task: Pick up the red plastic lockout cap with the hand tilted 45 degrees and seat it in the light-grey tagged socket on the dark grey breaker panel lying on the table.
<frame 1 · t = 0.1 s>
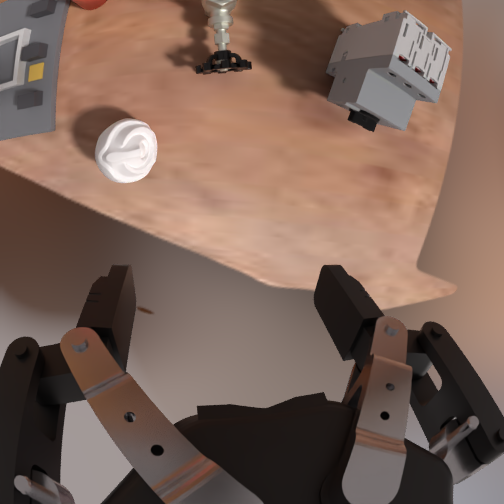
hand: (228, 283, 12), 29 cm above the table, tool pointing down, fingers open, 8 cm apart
valve: (218, 33, 29), on the table
breaker panel: (22, 59, 23), on the table
circuit breaker: (348, 78, 34), on the table
white folded ball: (132, 145, 34), on the table
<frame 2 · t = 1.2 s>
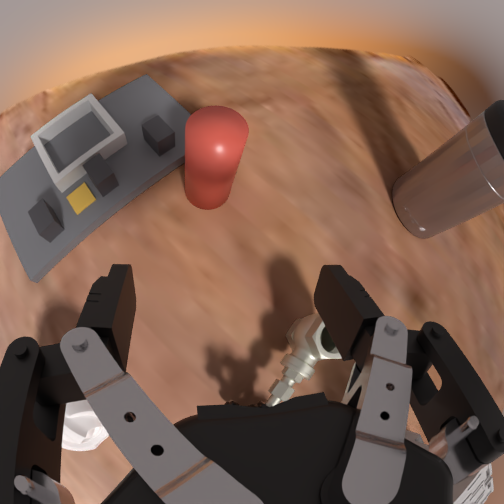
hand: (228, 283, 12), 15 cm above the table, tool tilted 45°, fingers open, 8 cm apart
valve: (280, 368, 26), on the table
breaker panel: (90, 164, 27), on the table
circuit breaker: (361, 480, 24), on the table
white folded ball: (87, 398, 21), on the table
lockout cap: (207, 188, 29), on the table
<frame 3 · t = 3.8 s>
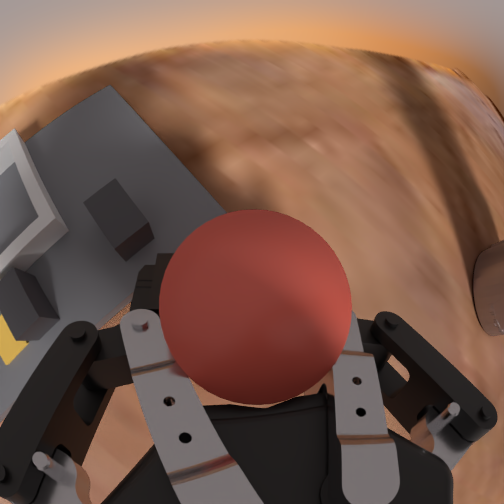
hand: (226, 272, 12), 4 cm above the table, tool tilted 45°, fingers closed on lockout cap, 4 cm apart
breaker panel: (20, 259, 14), on the table
lockout cap: (219, 319, 16), on the table, touching gripper
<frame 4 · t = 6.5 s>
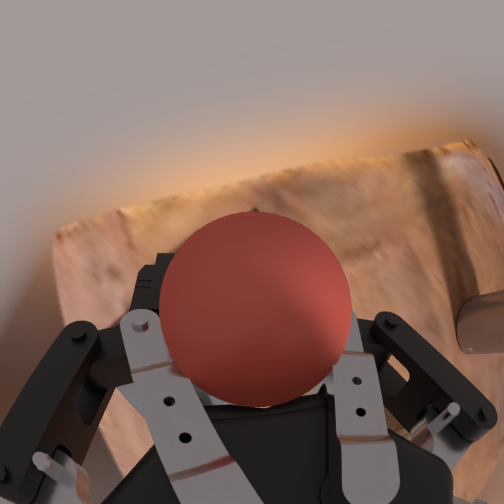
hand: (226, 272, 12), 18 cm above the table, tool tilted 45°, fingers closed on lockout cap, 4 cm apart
breaker panel: (222, 338, 29), on the table
lockout cap: (219, 320, 16), point 14 cm above the table, touching gripper
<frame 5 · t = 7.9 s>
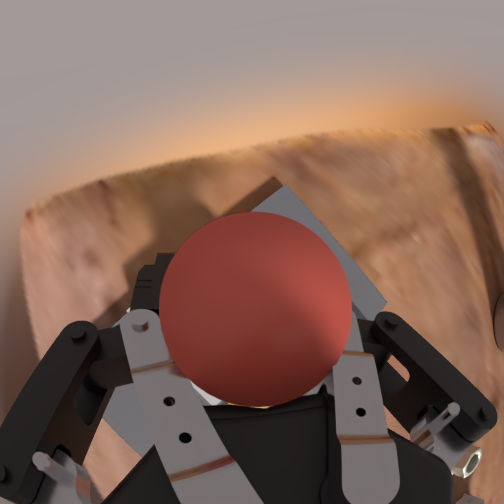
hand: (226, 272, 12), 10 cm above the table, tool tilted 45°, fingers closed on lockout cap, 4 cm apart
valve: (418, 477, 21), on the table
breaker panel: (234, 343, 22), on the table
lockout cap: (219, 320, 16), point 6 cm above the table, touching gripper
when the fingers open (7 cm above the table, at t = 9.0 s): lockout cap drops 1 cm, resting on breaker panel.
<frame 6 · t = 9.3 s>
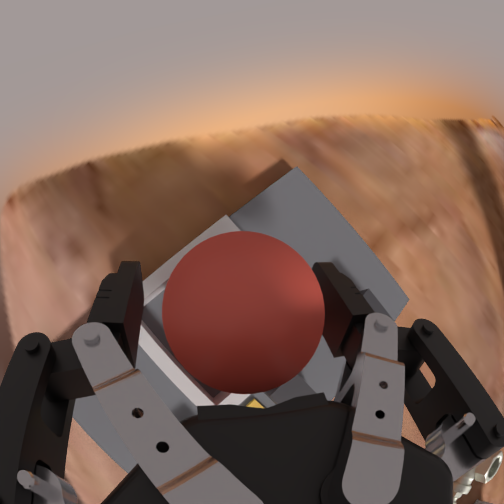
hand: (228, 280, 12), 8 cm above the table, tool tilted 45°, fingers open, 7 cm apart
valve: (436, 485, 18), on the table
breaker panel: (239, 348, 18), on the table
lockout cap: (217, 322, 17), point 2 cm above the table, touching breaker panel
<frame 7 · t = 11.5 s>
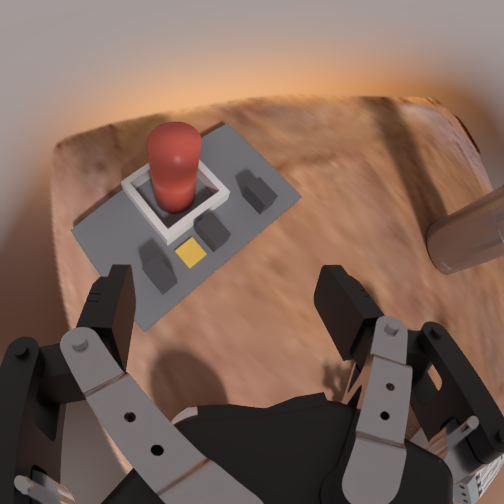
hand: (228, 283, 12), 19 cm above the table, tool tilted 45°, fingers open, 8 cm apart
breaker panel: (187, 215, 33), on the table
circuit breaker: (404, 464, 30), on the table
lockout cap: (174, 195, 31), point 1 cm above the table, touching breaker panel
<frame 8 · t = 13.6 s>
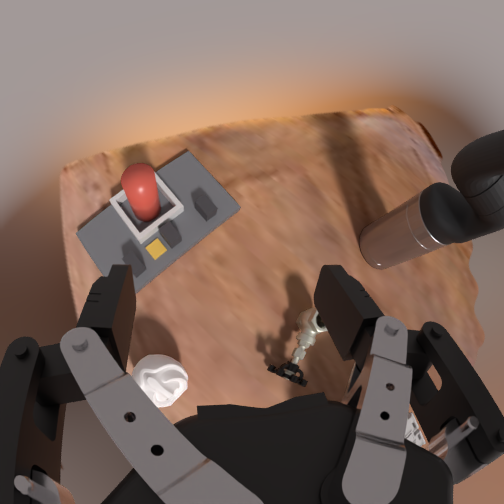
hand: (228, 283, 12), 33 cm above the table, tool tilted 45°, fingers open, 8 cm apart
valve: (295, 342, 45), on the table
breaker panel: (156, 222, 45), on the table
circuit breaker: (336, 433, 42), on the table
white folded ball: (161, 375, 39), on the table
lockout cap: (147, 208, 43), point 1 cm above the table, touching breaker panel
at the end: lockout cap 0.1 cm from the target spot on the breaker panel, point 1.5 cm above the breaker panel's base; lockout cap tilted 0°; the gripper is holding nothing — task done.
